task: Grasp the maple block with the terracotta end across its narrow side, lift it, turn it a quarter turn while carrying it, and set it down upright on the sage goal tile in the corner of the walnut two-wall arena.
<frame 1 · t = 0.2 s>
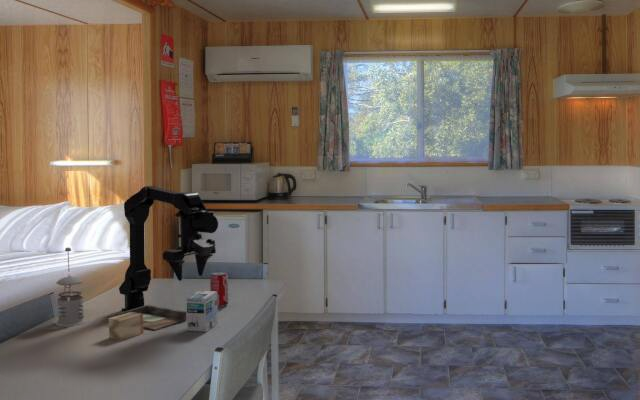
hand: (190, 278, 224), 14 cm above the table, fingers open, 9 cm apart
maple block: (126, 335, 210), on the table
light bulb box: (202, 327, 218), on the table
soda can: (219, 306, 246), on the table
arena: (151, 321, 225), on the table
french press: (70, 322, 226), on the table
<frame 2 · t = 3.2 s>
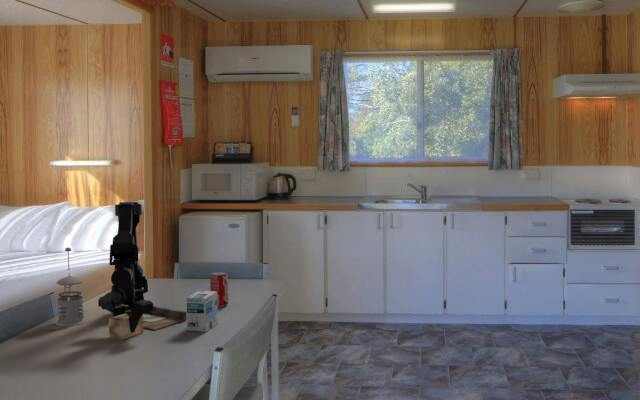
hand: (126, 331, 209), 1 cm above the table, fingers closed on maple block, 5 cm apart
maple block: (126, 335, 210), on the table, touching gripper
everything else where it was.
when the fingers open (3 cm above the table, at t = 8.4 s): maple block drops 1 cm, resting on arena.
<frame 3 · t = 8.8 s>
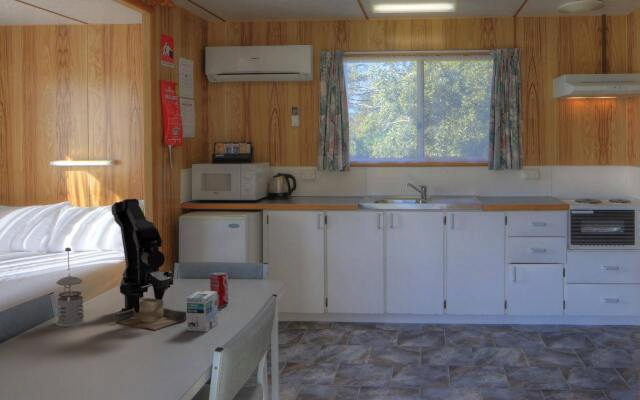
hand: (148, 309, 227), 3 cm above the table, fingers open, 9 cm apart
maple block: (148, 317, 227), point 1 cm above the table, touching arena
everything else where it was.
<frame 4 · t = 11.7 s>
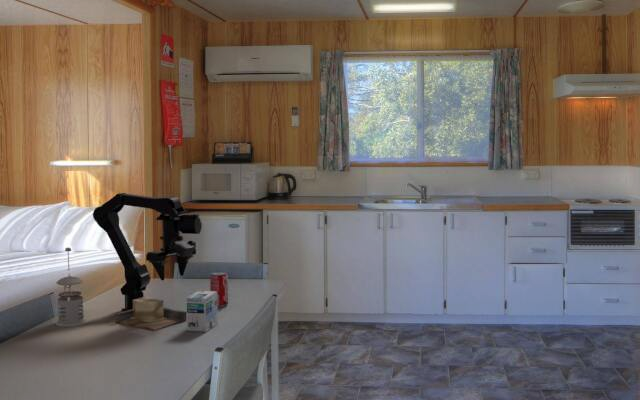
hand: (172, 277, 236), 12 cm above the table, fingers open, 9 cm apart
nothing on the table moved.
at the end: maple block 0.2 cm from the target spot on the arena, point 0.7 cm above the arena's base; maple block tilted 0°; the gripper is holding nothing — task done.
